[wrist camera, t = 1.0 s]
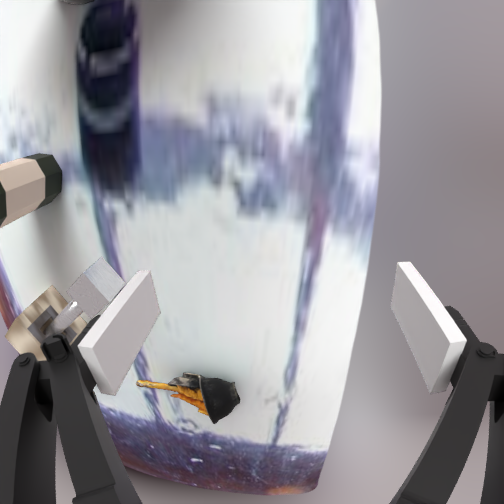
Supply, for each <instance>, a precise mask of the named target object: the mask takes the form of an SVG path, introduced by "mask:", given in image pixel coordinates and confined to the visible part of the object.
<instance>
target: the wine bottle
mask: <svg viewBox="0 0 504 504" xmlns="http://www.w3.org/2000/svg"><path fill="white" fill-rule="evenodd" d="M61 181H62V170H61V169H60V167H59V165H58V164H57V162H56V160H55V159H54V157H53V155H47V154H35V155H31V156H27V157H24V158H20V159H16V160H13V161H10V162H6V163H3V164H0V228H2V227H4V226H5V225H7V224H9V223H11V222H13V221H15V220H17V219H18V218H20V217H22V216H24V215H26V214H28V213H30V212H32V211H34V210H36V209H38V208H40V207H42V206H44V205H46V204H48V203H50V202H52V201H53V199H54V198H55V197H56V196H57V195H58V194H59V193H60V192H61Z"/></svg>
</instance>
